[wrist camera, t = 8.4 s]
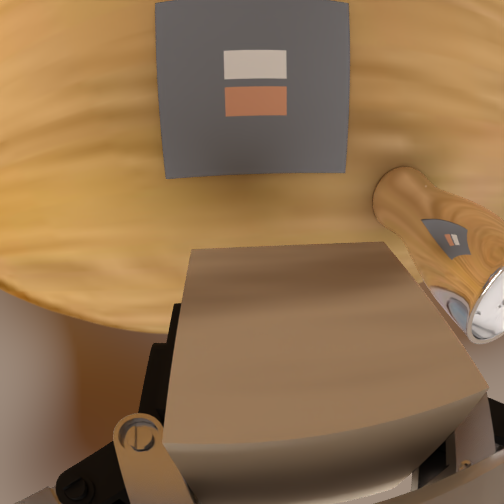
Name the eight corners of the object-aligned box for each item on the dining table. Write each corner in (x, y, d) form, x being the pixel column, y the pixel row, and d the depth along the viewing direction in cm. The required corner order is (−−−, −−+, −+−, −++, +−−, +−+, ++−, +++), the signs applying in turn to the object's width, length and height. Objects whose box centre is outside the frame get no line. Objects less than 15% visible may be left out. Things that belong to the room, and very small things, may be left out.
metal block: (191, 249, 9) (162, 442, 4) (383, 241, 10) (489, 387, 4) (210, 377, 12) (209, 515, 7) (351, 365, 12) (393, 488, 7)
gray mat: (156, 4, 16) (155, 3, 16) (346, 4, 17) (348, 3, 17) (167, 177, 24) (165, 179, 23) (343, 171, 24) (345, 173, 24)
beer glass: (433, 221, 27) (530, 320, 14) (372, 241, 28) (455, 363, 15) (429, 154, 24) (555, 232, 11) (361, 171, 24) (475, 273, 11)
